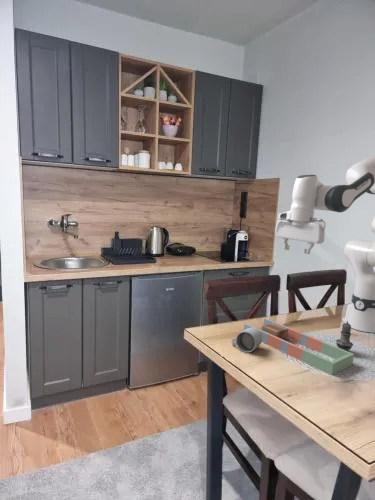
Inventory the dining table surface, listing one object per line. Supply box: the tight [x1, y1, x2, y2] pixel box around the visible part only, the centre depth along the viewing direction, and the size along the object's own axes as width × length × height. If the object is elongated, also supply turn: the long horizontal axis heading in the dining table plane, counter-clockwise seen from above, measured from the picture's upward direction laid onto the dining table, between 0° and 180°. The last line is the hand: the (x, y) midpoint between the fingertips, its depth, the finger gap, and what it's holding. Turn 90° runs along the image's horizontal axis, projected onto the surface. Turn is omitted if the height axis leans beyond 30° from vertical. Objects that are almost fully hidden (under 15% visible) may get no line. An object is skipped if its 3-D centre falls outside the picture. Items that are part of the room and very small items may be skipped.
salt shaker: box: [335, 321, 354, 352], centre depth 127 cm, size 6×6×12 cm
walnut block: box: [261, 323, 288, 342], centre depth 136 cm, size 7×7×5 cm
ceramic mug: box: [231, 327, 263, 354], centre depth 126 cm, size 11×8×8 cm
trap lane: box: [243, 318, 355, 376], centre depth 129 cm, size 13×38×4 cm, turn 38°
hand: (296, 251), depth 135 cm, fingers open, 8 cm apart
